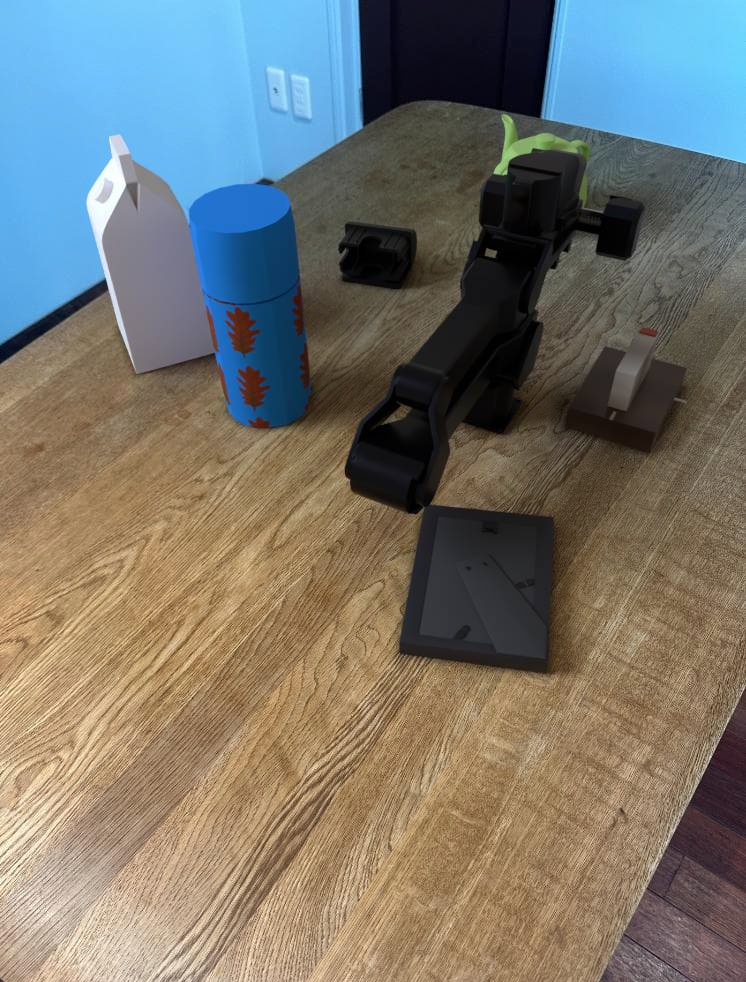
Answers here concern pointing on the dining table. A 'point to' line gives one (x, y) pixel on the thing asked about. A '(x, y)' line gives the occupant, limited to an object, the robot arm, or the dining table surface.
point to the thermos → (253, 301)
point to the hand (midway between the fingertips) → (582, 186)
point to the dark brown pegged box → (644, 410)
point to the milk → (148, 264)
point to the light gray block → (633, 368)
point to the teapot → (540, 142)
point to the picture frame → (481, 588)
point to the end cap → (377, 254)
